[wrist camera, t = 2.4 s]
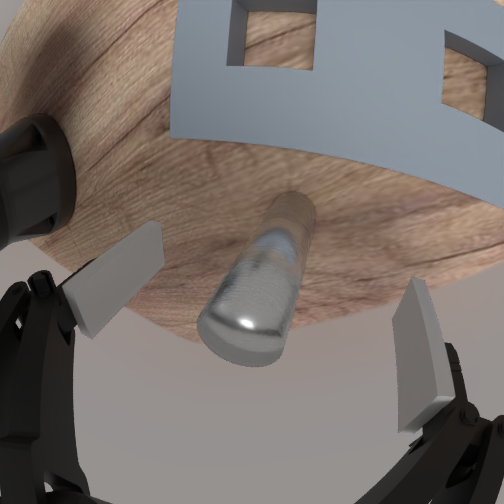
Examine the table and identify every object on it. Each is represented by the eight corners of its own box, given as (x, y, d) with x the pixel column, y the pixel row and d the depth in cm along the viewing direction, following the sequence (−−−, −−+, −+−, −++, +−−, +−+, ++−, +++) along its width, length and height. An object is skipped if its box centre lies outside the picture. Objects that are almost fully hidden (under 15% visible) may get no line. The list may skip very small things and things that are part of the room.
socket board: (191, 132, 18) (169, 138, 16) (205, -30, 11) (186, -45, 8) (502, 202, 13) (521, 217, 11) (519, 38, 6) (539, 33, 3)
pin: (269, 228, 20) (199, 352, 10) (274, 187, 19) (194, 293, 9) (312, 237, 20) (276, 375, 10) (319, 196, 18) (290, 318, 8)
